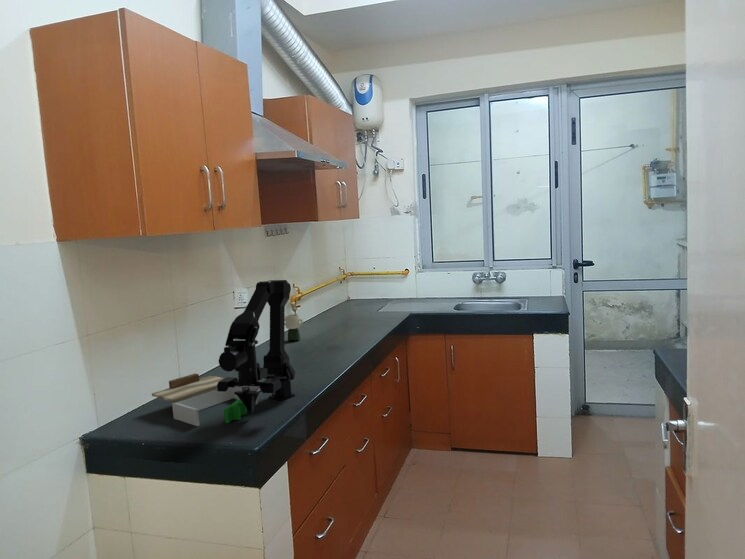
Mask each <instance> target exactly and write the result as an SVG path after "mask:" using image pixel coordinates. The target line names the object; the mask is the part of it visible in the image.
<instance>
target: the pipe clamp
mask: <svg viewBox="0 0 745 559" xmlns="http://www.w3.org/2000/svg"><path fill="white" fill-rule="evenodd" d="M223 413H224V423H225V424H229V423H230V422H232V421H233V420H234V421H235V420H236V421H240V420H242V416H246V415H247V414H248V410H247V409H246V407H245V405H244V404H243V402H242V401H241V400H240V398H239V399H235V401H234V402H232V403H231V404H230V405H229V406H227V407H226V408H224V409H223Z"/></svg>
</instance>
